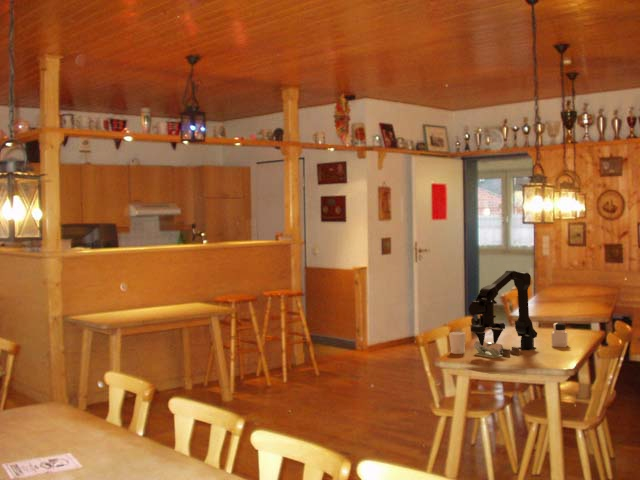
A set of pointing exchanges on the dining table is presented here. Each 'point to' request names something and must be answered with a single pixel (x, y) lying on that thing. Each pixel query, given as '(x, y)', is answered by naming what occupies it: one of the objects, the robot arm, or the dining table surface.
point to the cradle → (487, 353)
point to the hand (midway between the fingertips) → (488, 344)
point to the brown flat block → (510, 351)
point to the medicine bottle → (559, 335)
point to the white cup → (457, 342)
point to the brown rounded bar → (490, 346)
